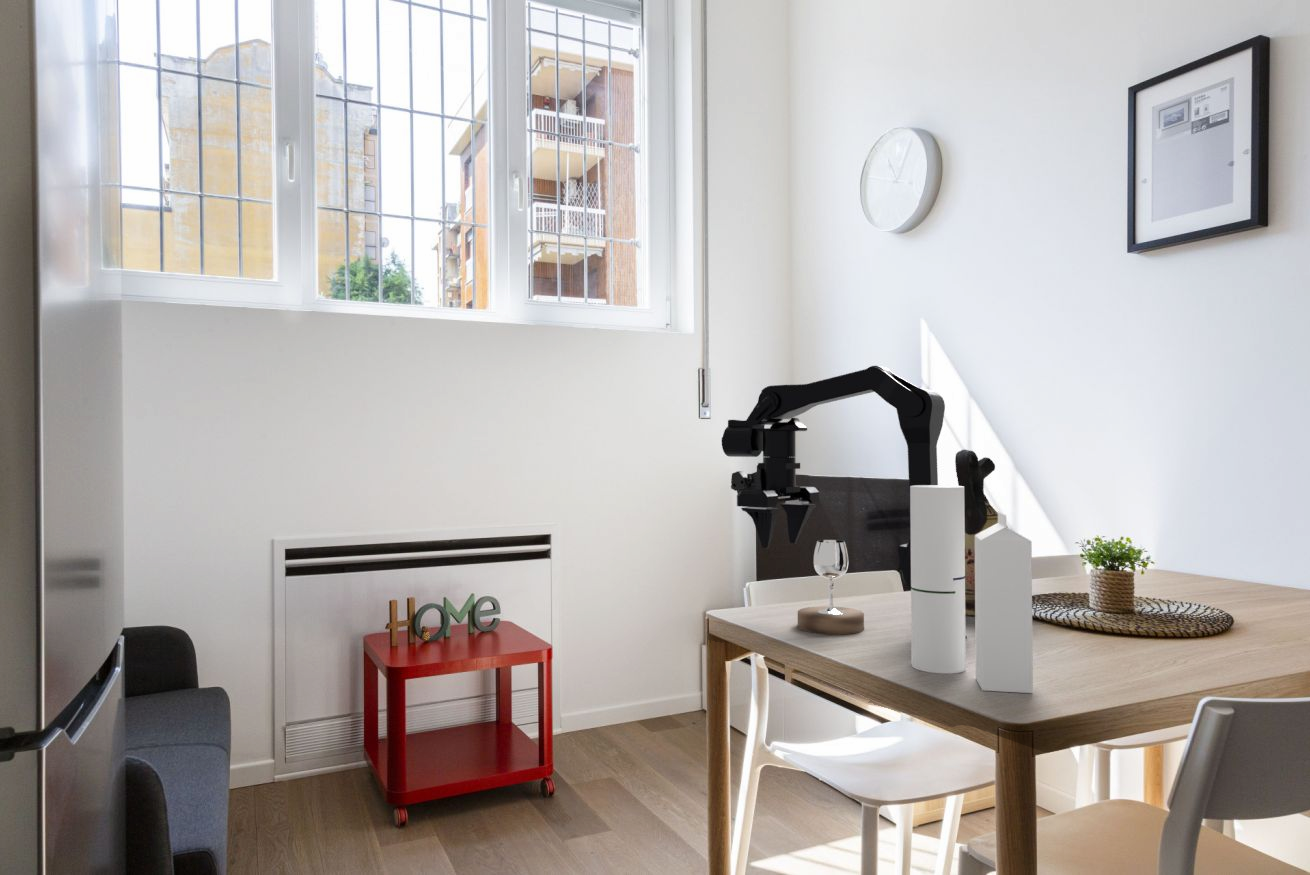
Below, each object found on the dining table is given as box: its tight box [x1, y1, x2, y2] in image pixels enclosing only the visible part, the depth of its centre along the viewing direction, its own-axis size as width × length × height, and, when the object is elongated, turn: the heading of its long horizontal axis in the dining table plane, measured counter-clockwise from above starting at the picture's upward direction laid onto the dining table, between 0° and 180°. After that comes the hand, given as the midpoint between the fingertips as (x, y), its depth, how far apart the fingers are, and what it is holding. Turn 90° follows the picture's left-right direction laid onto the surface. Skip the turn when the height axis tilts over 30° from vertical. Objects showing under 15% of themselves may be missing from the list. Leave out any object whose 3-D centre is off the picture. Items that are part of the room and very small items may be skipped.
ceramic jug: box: [954, 449, 1009, 621], centre depth 157 cm, size 17×15×30 cm
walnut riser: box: [797, 605, 865, 635], centre depth 144 cm, size 11×11×2 cm
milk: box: [974, 511, 1034, 694], centre depth 109 cm, size 6×6×22 cm
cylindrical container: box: [909, 484, 967, 675], centre depth 119 cm, size 7×7×25 cm
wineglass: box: [813, 539, 849, 615], centre depth 145 cm, size 6×6×12 cm
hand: (779, 545), depth 151 cm, fingers open, 9 cm apart
